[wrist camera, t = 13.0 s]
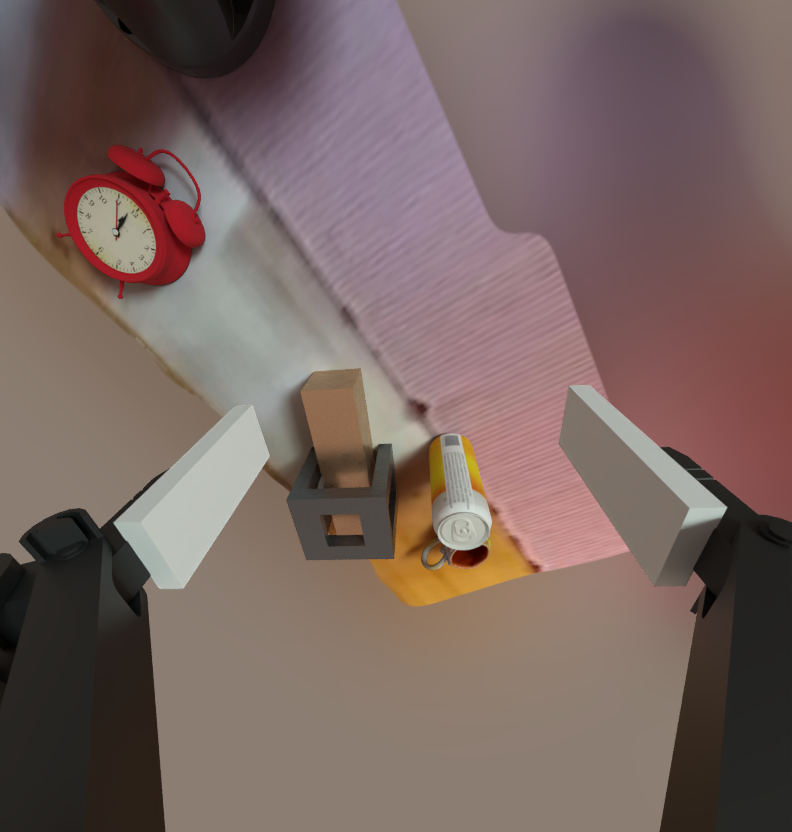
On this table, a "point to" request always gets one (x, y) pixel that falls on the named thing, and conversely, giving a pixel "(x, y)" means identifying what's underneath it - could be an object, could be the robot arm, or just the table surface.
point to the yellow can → (457, 494)
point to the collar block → (346, 512)
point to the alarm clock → (133, 221)
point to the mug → (458, 555)
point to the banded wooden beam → (340, 435)
